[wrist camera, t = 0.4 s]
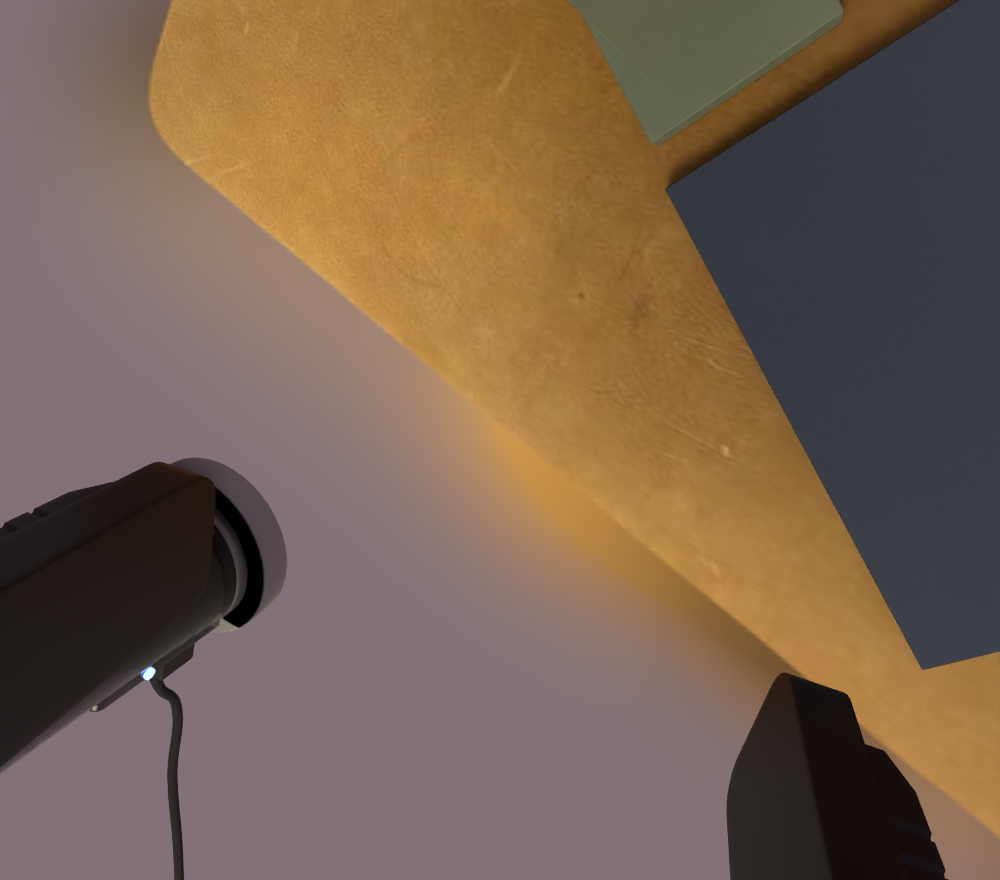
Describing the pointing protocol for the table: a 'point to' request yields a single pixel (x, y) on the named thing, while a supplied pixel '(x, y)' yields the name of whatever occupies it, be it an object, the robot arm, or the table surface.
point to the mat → (883, 308)
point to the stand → (698, 50)
